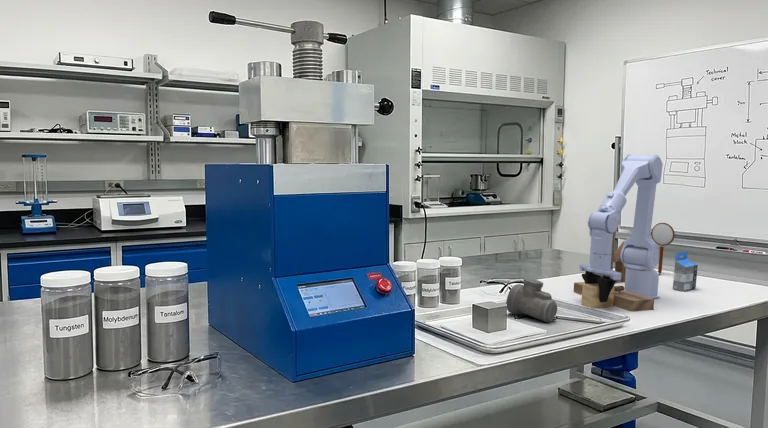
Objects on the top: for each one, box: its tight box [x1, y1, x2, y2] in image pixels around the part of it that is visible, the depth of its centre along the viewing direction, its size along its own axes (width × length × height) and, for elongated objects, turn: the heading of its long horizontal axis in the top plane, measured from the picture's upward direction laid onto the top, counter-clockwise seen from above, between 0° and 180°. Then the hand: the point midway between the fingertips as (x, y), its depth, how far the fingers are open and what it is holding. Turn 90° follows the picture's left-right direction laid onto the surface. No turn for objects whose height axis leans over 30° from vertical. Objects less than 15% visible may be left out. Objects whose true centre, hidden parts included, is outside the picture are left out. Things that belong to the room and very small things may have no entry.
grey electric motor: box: [505, 277, 558, 323], centre depth 146 cm, size 12×8×10 cm
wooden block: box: [601, 230, 626, 283], centre depth 196 cm, size 4×11×18 cm, turn 113°
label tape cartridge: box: [672, 251, 698, 292], centre depth 187 cm, size 9×4×12 cm, turn 128°
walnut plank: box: [573, 281, 655, 312], centre depth 169 cm, size 8×24×3 cm, turn 21°
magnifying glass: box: [650, 222, 676, 275], centre depth 211 cm, size 9×2×20 cm, turn 35°
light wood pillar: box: [581, 283, 625, 309], centre depth 162 cm, size 13×4×6 cm, turn 111°
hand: (597, 299), depth 162 cm, fingers closed on light wood pillar, 4 cm apart
